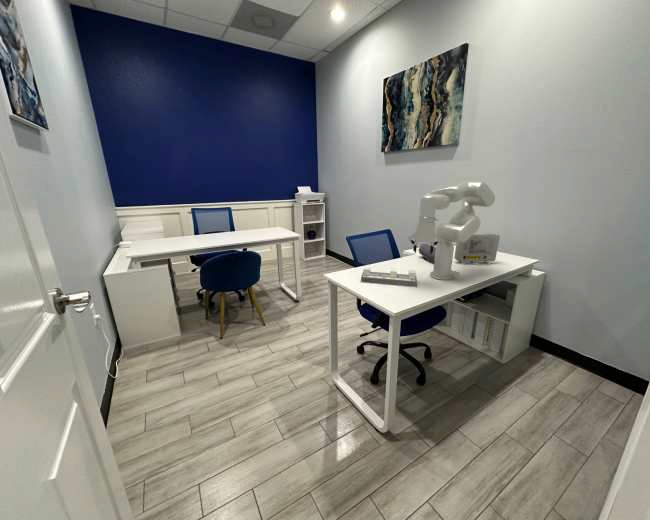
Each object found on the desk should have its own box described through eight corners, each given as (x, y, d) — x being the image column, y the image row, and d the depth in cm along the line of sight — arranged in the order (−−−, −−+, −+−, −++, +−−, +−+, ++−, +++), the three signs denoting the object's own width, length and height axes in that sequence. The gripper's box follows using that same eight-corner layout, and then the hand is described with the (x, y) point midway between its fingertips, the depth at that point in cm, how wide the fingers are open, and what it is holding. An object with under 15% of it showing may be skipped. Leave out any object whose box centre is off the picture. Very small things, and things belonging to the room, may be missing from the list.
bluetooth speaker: (448, 265, 184) (450, 250, 181) (435, 266, 182) (437, 251, 179) (428, 255, 205) (430, 242, 202) (417, 256, 203) (418, 243, 200)
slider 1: (370, 272, 162) (370, 266, 161) (369, 275, 158) (369, 269, 157) (364, 271, 163) (364, 266, 162) (363, 274, 159) (363, 269, 158)
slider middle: (396, 274, 159) (397, 268, 158) (396, 277, 154) (396, 271, 153) (390, 274, 160) (390, 268, 159) (390, 277, 155) (390, 271, 154)
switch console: (415, 280, 159) (416, 274, 158) (416, 286, 150) (417, 281, 149) (363, 275, 166) (363, 270, 165) (361, 281, 157) (361, 276, 156)
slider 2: (414, 276, 156) (415, 270, 155) (415, 279, 152) (415, 273, 151) (408, 275, 157) (408, 269, 156) (408, 278, 153) (409, 272, 152)
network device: (489, 261, 192) (495, 232, 186) (496, 265, 184) (502, 235, 178) (452, 261, 193) (456, 232, 187) (457, 265, 185) (462, 235, 179)
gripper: (443, 219, 145) (439, 252, 151) (408, 218, 149) (405, 249, 155) (445, 221, 138) (441, 255, 144) (409, 220, 142) (406, 253, 148)
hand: (422, 252), depth 149 cm, fingers open, 7 cm apart
